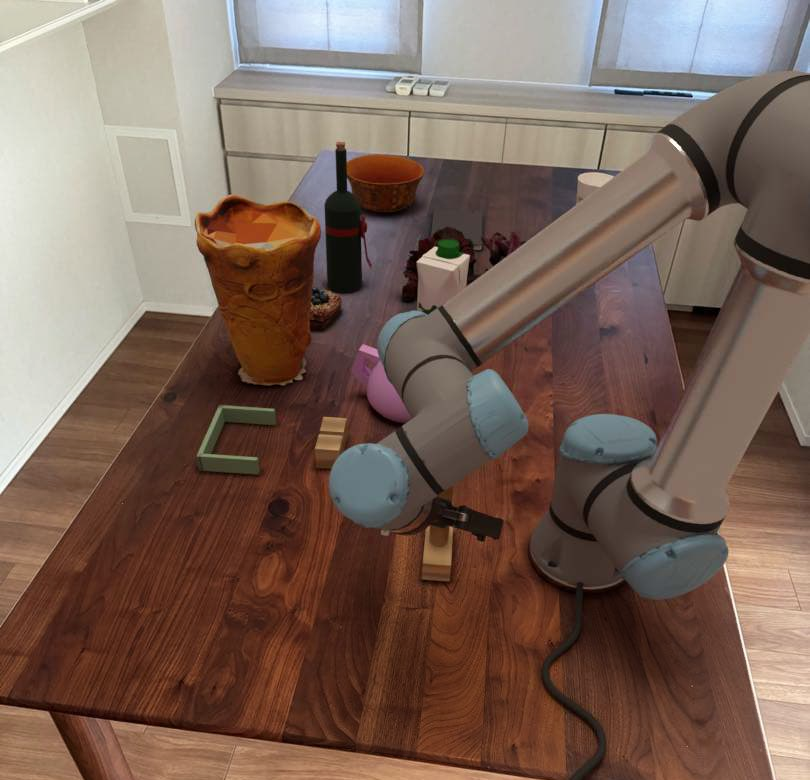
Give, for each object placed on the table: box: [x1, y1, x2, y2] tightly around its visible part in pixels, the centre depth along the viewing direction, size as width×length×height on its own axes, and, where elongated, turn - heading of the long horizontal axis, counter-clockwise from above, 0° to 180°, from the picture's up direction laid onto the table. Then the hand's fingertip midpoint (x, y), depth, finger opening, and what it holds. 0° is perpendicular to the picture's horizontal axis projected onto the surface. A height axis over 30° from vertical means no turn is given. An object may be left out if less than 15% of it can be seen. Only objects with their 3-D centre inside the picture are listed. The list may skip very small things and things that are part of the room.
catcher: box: [196, 404, 277, 476], centre depth 134 cm, size 15×10×3 cm
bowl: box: [347, 153, 426, 213], centre depth 208 cm, size 21×21×10 cm
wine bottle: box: [323, 141, 373, 294], centre depth 168 cm, size 8×10×30 cm
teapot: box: [350, 343, 411, 424], centre depth 141 cm, size 22×16×12 cm
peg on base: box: [421, 485, 454, 582], centre depth 112 cm, size 10×4×14 cm, turn 175°
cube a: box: [314, 433, 344, 470], centre depth 131 cm, size 4×4×4 cm
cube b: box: [319, 416, 348, 452], centre depth 134 cm, size 4×4×4 cm
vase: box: [194, 194, 322, 387], centre depth 141 cm, size 21×20×30 cm
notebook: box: [430, 208, 484, 252], centre depth 200 cm, size 13×2×21 cm
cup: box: [575, 172, 614, 206], centre depth 206 cm, size 10×10×10 cm
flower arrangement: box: [401, 226, 527, 303], centre depth 171 cm, size 31×20×15 cm, turn 82°
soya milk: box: [416, 239, 470, 315], centre depth 154 cm, size 9×9×20 cm
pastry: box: [310, 286, 343, 332], centre depth 166 cm, size 11×12×6 cm
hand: (434, 515), depth 108 cm, fingers open, 13 cm apart
